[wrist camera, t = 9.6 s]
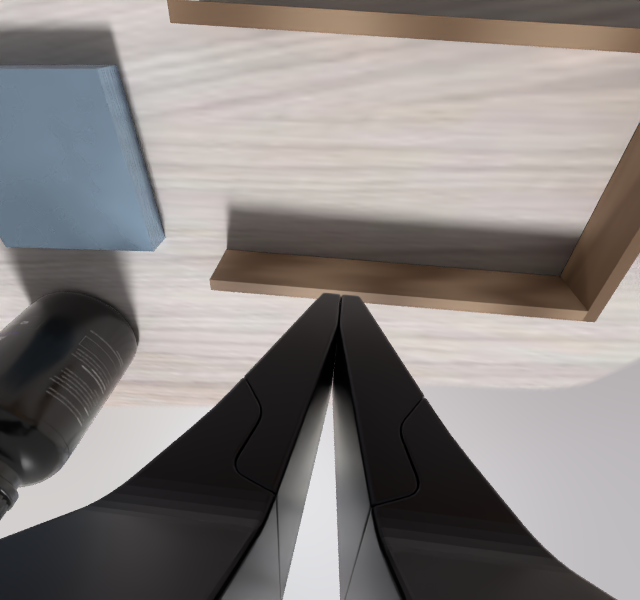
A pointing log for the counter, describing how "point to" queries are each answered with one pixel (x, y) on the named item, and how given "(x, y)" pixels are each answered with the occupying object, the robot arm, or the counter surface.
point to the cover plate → (72, 162)
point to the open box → (431, 281)
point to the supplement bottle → (55, 383)
